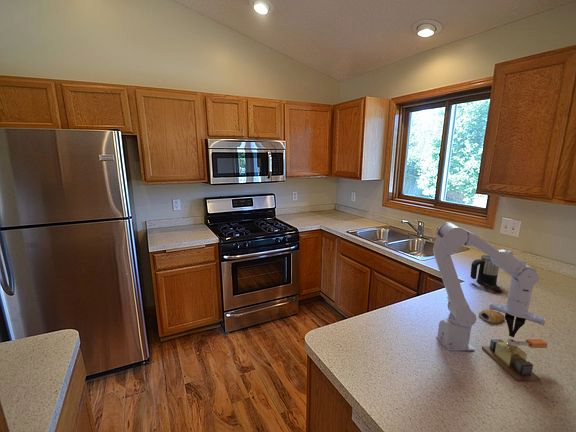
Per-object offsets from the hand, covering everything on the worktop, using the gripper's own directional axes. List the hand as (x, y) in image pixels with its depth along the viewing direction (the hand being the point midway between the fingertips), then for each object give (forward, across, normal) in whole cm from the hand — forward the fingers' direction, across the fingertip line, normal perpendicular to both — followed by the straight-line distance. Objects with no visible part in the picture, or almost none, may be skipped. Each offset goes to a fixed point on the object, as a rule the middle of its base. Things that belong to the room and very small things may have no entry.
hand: (511, 335), depth 96 cm
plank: (+6, -1, +7) cm, 10 cm away
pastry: (+7, +8, -22) cm, 24 cm away
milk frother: (+6, +14, -61) cm, 63 cm away
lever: (0, -4, +4) cm, 6 cm away
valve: (+6, -1, +7) cm, 10 cm away
